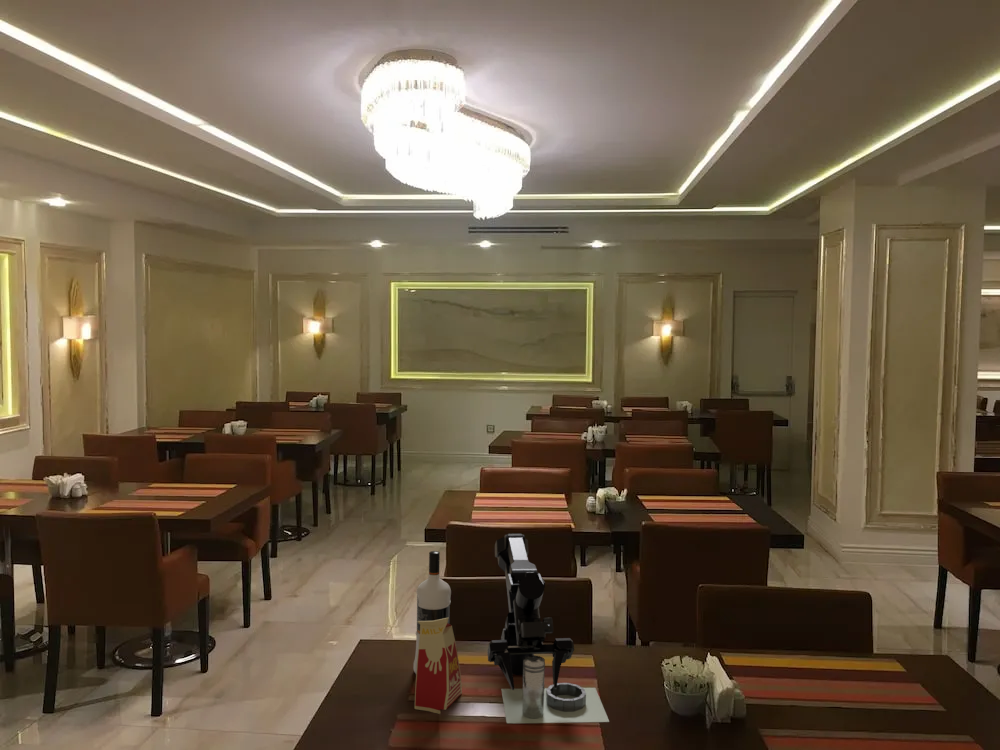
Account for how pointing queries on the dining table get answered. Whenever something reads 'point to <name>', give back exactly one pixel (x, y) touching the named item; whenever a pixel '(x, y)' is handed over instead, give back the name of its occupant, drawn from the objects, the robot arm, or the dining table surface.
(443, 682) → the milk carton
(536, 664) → the silver upright cylinder
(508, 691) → the plate
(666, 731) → the dining table surface
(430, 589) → the vodka
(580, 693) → the ring collar
